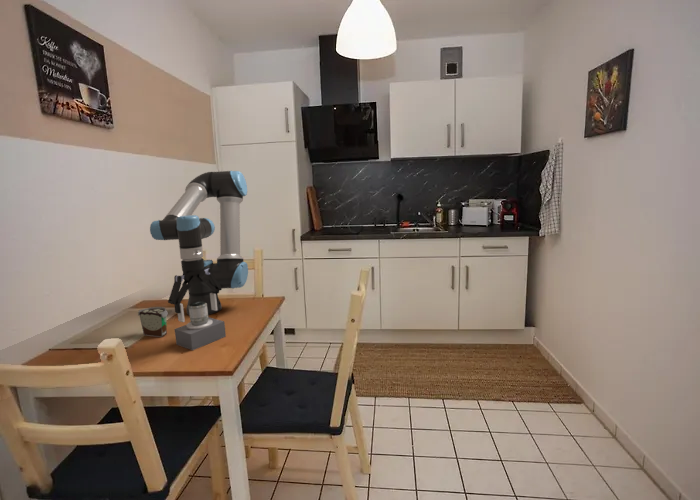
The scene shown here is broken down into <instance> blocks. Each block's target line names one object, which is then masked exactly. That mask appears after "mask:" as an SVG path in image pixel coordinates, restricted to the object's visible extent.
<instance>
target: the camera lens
mask: <svg viewBox="0 0 700 500" xmlns="http://www.w3.org/2000/svg"><path fill="white" fill-rule="evenodd" d="M188 307H189V315H188V316H189V320H190V321H189V322H191V324H192V325H194V326H199V325H203V324H206V323H207V322H208V317H209V315H208V310H207V303H206V302H203V301H197V302H193V303H191V304H190V305H189V306H188Z"/></svg>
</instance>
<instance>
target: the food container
mask: <svg viewBox="0 0 700 500" xmlns="http://www.w3.org/2000/svg"><path fill="white" fill-rule="evenodd" d="M168 315H169V313H168V311H167V309H166V307H162V306H151V307H147V308H142V309H139V310H138V312H137V316H139V320H140V323H141V329H142V332H143V336H148V337H155V338H164V337H165V336H167V332H168V330H167V327H168V325H167V316H168Z"/></svg>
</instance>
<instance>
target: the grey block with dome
mask: <svg viewBox="0 0 700 500" xmlns="http://www.w3.org/2000/svg"><path fill="white" fill-rule="evenodd" d="M226 334H227V333H226V325H225V321H223V320H220V319H217V318H212V317H209V316H208V322H207V323H206V324H203V325H199V326H194V325H192V324H191V321H189V322H188V323H186V324H185V325H181V326H179V327H176V328H174V335H175V336H174V337H175V342H176V343H175V344H176V345H177V346H180V347H182V348H185V349H188V350H190V351H195V350H197V349H199V348H202V347H204V346H207V345H209V344H211V343H214V342H217V341H219V340H221V339H224V338H226V336H227V335H226Z"/></svg>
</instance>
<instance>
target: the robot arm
mask: <svg viewBox="0 0 700 500" xmlns="http://www.w3.org/2000/svg"><path fill="white" fill-rule="evenodd" d="M184 189H185V190H184V193H183V194H182V195H181V197H180V198H179V199H178V200H177V202H175V204H174V205H173V206H172V208H171V209H170V210H169V211H168V213H167V214H165V216H164V218H163V219H161V220H160V219H158V220H153V221H152V222H151V224H150V227H149V232H150V235H151V237H152V239H154V240H156V241H159V240H160V241H171V240H172V241H175V240H178V244H179V245H178V247H179V256H180V260H181V261H180V263H181V270H182V275H177V274H176V275H174V283H173V285H172V288H171V291H170V295H169V298H168V301H167V303H168V304H171V305H173V306H174V313H175V314H177V320H178V322H180V323H185V322H186V321H185V320H186V319H185V312H184V311H185V310H184V304H183V303H182V301H183V299H184V298H185V296H186V294H187V293H188V300H187V304H186V314H187V315H188V316H190V315H189V307H188V306H189V305H190V304H191V303H193V302H197V301H203V302H206V303H207V310H208V316H209V315H212V314H215V313H218V312H220V311H221V310H222V303H221V301H220V298H219V295H218V294H220V291H222V289H238V288H242V287H244V286H245V285H246V283H247V280H248V276H249V275H248V274H249V265H248V263H247V262H245V261H244V257H242V255H241V229H240V228H241V227H240V226H241V224H240V222H241V221H240V220H241V219H240V218H241V217H240V216H241V215H240V213H241V212H240V211H241V210H240V208H241V207H240V204H242V202H243V200H244V197H245V196H247V195H248V185H247V181H246V179H245V176H244V174H243V172H242V171H239V170H227V171H225V170H223V171H222V170H221V171H208V172H203V173H201V174H199V175H197V176H196V177H195V178H193V179H192V180H191V181H190V182H188V184H187V185H186V187H185V188H184ZM207 198H216V201H217V202H218V203H219V209H220V211H219V214H220V215H219V216H220V217H219V221H220V223H219V224H220V225H219V226H220V231H219V233H220V234H219V235H220V236H219V237H220V240H219V241H220V242H219V243H220V245H219V246H220V254H219V256H218V257H217V258H216V262H214V261H213V260H212V259H205V260H204V258H203V257H204V251H203V242H202V240H203V239H207V238H209V237H210V236H213V234H214V232H215V228H216V227H215V224H214V222H213V220H211V219H210V218H206V217H199V216H198V215H195V214H194V212H195V211H196V210H197V208H198V206H199V205H200V204H201V203H202V202H204V201H206V199H207ZM193 214H194V215H193ZM181 285H182V286H181Z"/></svg>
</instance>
